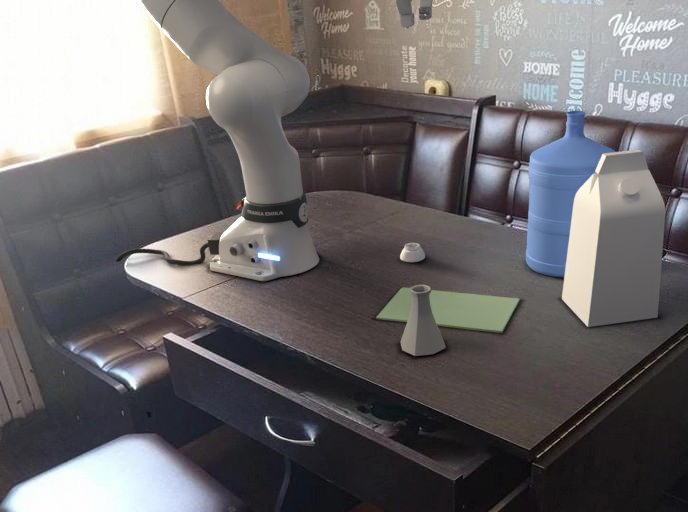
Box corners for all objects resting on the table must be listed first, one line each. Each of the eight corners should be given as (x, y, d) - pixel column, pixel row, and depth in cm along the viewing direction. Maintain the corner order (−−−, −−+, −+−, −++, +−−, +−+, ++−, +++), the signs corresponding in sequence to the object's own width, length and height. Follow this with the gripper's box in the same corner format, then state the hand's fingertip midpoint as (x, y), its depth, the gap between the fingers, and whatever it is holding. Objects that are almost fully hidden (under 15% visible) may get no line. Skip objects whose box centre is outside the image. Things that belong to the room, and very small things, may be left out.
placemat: (376, 319, 132) (376, 316, 132) (402, 289, 143) (402, 287, 142) (502, 333, 125) (502, 331, 125) (519, 300, 135) (519, 298, 135)
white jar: (425, 254, 157) (400, 255, 157) (424, 240, 156) (399, 241, 156) (425, 263, 153) (400, 264, 153) (424, 249, 151) (399, 250, 152)
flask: (393, 342, 124) (389, 285, 119) (433, 332, 127) (431, 275, 122) (412, 361, 119) (409, 302, 113) (453, 350, 121) (452, 291, 116)
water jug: (625, 271, 143) (641, 115, 129) (548, 285, 140) (556, 127, 126) (583, 244, 156) (593, 99, 142) (512, 256, 153) (515, 110, 139)
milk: (626, 290, 136) (642, 140, 123) (657, 317, 126) (678, 157, 113) (561, 298, 135) (570, 148, 121) (587, 327, 125) (600, 166, 112)
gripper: (413, -79, 123) (417, 16, 130) (369, -77, 107) (376, 32, 114) (451, -82, 121) (453, 14, 128) (412, -81, 105) (417, 30, 112)
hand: (416, 23), depth 121 cm, fingers open, 8 cm apart
